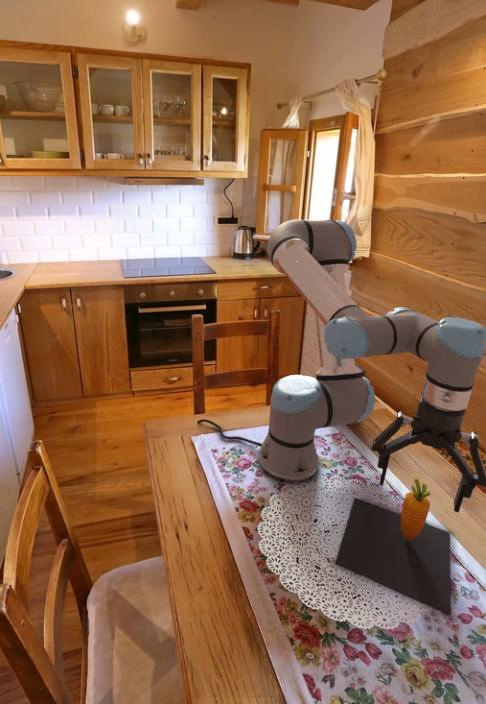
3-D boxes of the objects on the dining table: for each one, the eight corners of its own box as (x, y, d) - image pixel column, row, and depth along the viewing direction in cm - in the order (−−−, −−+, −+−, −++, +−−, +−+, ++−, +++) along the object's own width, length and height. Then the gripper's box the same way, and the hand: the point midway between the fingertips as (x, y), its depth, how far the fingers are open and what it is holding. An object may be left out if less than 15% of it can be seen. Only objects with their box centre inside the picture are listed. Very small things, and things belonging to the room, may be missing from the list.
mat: (335, 563, 79) (335, 563, 79) (354, 497, 96) (354, 497, 96) (450, 615, 71) (450, 614, 71) (449, 532, 88) (449, 532, 88)
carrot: (422, 553, 82) (439, 494, 77) (397, 548, 83) (411, 489, 78) (416, 533, 87) (432, 476, 82) (392, 528, 88) (405, 472, 83)
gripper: (368, 392, 76) (350, 482, 83) (529, 434, 65) (492, 533, 73) (374, 375, 82) (357, 461, 90) (522, 412, 72) (488, 505, 79)
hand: (417, 493), depth 81 cm, fingers open, 13 cm apart
